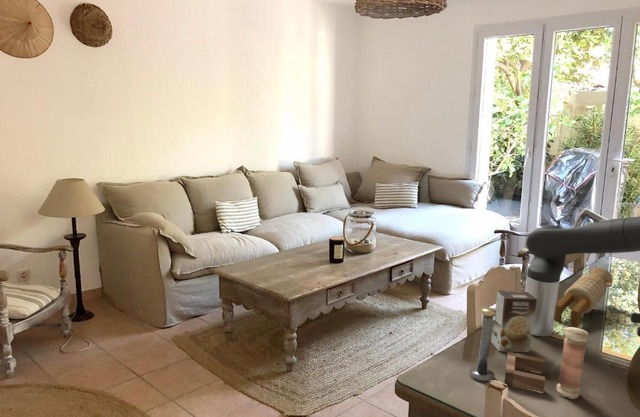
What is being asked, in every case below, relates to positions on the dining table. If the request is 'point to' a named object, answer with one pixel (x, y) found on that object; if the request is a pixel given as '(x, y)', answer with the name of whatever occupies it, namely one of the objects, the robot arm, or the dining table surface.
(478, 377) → the post
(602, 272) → the decorative spool
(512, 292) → the coffee box
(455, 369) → the dining table surface
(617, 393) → the dining table surface
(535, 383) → the notched board
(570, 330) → the thread spool
